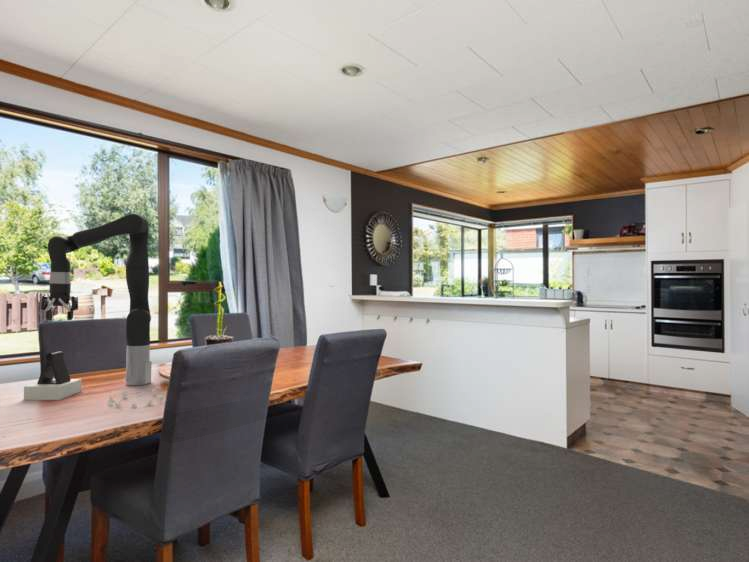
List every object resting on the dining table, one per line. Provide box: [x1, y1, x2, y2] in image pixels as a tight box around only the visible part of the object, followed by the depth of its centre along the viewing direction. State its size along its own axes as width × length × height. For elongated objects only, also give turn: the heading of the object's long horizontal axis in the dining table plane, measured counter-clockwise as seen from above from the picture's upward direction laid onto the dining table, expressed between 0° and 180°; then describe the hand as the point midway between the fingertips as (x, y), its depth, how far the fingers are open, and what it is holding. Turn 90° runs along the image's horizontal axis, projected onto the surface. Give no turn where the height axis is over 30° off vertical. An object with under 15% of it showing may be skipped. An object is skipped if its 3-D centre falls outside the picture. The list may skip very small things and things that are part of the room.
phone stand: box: [36, 350, 71, 384], centre depth 179 cm, size 9×6×12 cm, turn 92°
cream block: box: [23, 378, 83, 401], centre depth 179 cm, size 13×14×5 cm
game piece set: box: [106, 388, 164, 409], centre depth 172 cm, size 19×20×4 cm
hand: (59, 320), depth 196 cm, fingers open, 8 cm apart
